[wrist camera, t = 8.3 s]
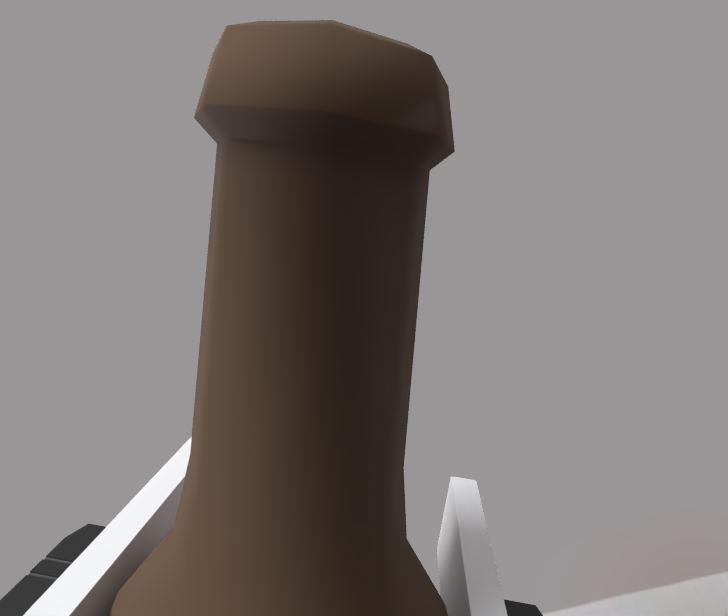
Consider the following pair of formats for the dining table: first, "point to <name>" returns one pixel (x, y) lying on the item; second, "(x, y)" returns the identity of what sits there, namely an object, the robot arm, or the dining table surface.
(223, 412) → the beer bottle
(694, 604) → the dining table surface
